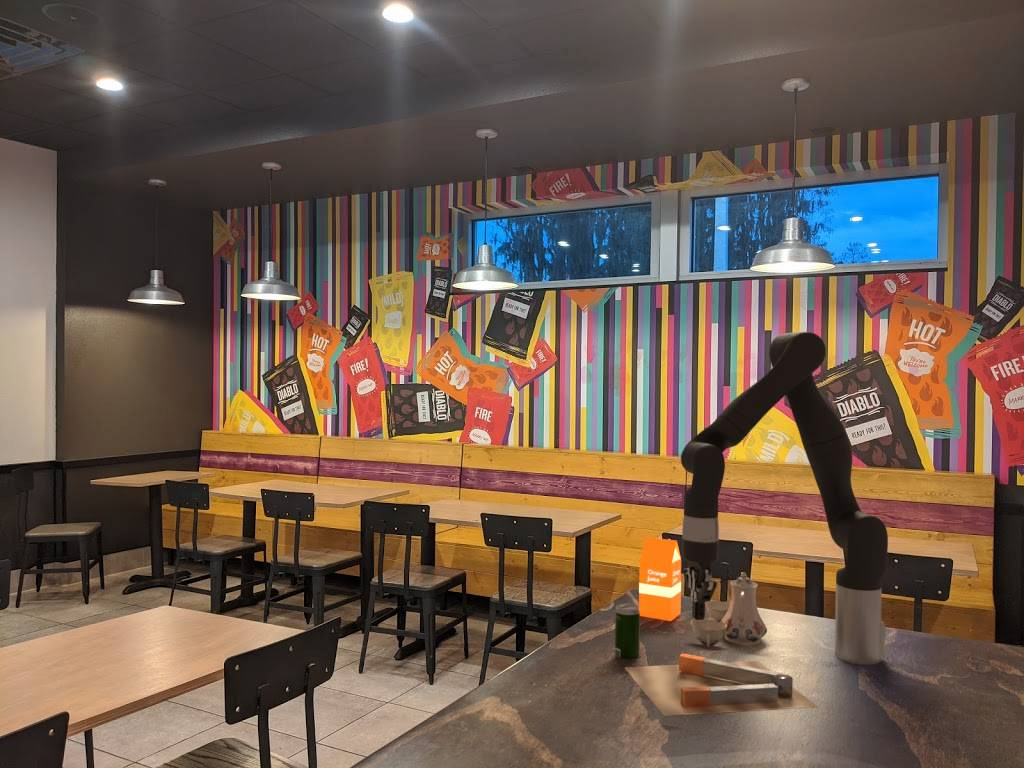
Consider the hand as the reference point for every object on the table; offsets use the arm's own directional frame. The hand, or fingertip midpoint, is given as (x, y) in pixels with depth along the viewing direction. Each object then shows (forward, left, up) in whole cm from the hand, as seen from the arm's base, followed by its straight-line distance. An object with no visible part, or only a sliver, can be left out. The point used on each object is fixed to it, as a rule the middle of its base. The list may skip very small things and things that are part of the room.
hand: (698, 618), depth 168 cm
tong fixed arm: (+2, +19, -10) cm, 22 cm away
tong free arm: (-3, +11, -10) cm, 15 cm away
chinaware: (-17, -21, -12) cm, 29 cm away
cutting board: (+1, +11, -11) cm, 16 cm away
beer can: (+13, -8, -12) cm, 19 cm away
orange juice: (-6, -40, -12) cm, 43 cm away
